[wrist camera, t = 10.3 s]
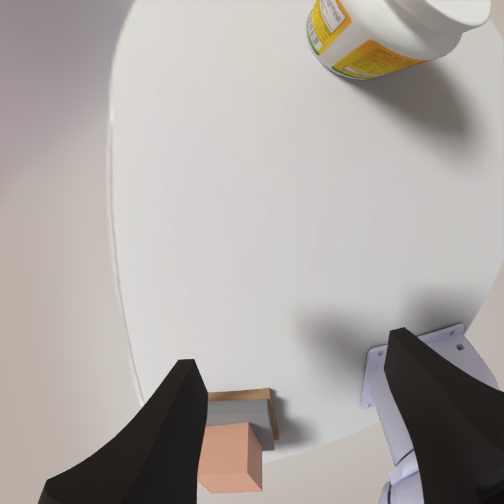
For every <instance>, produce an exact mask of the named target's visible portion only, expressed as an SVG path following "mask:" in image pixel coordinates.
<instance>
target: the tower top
mask: <svg viewBox="0 0 504 504" xmlns="http://www.w3.org/2000/svg"><path fill="white" fill-rule="evenodd" d="M245 422H249V424H250V426H251V428H252V430H253V431H254V433H255V435H256V437H257V439H258V440H259V442H260V444H261V446H262V451H269V450H274V436H273V431H272V425H271V419H270V413H269V407H268V401H267V398H266V399H252V400H235V401H208V412H207V421H206V426H216V425H227V424H236V423H245Z"/></svg>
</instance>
